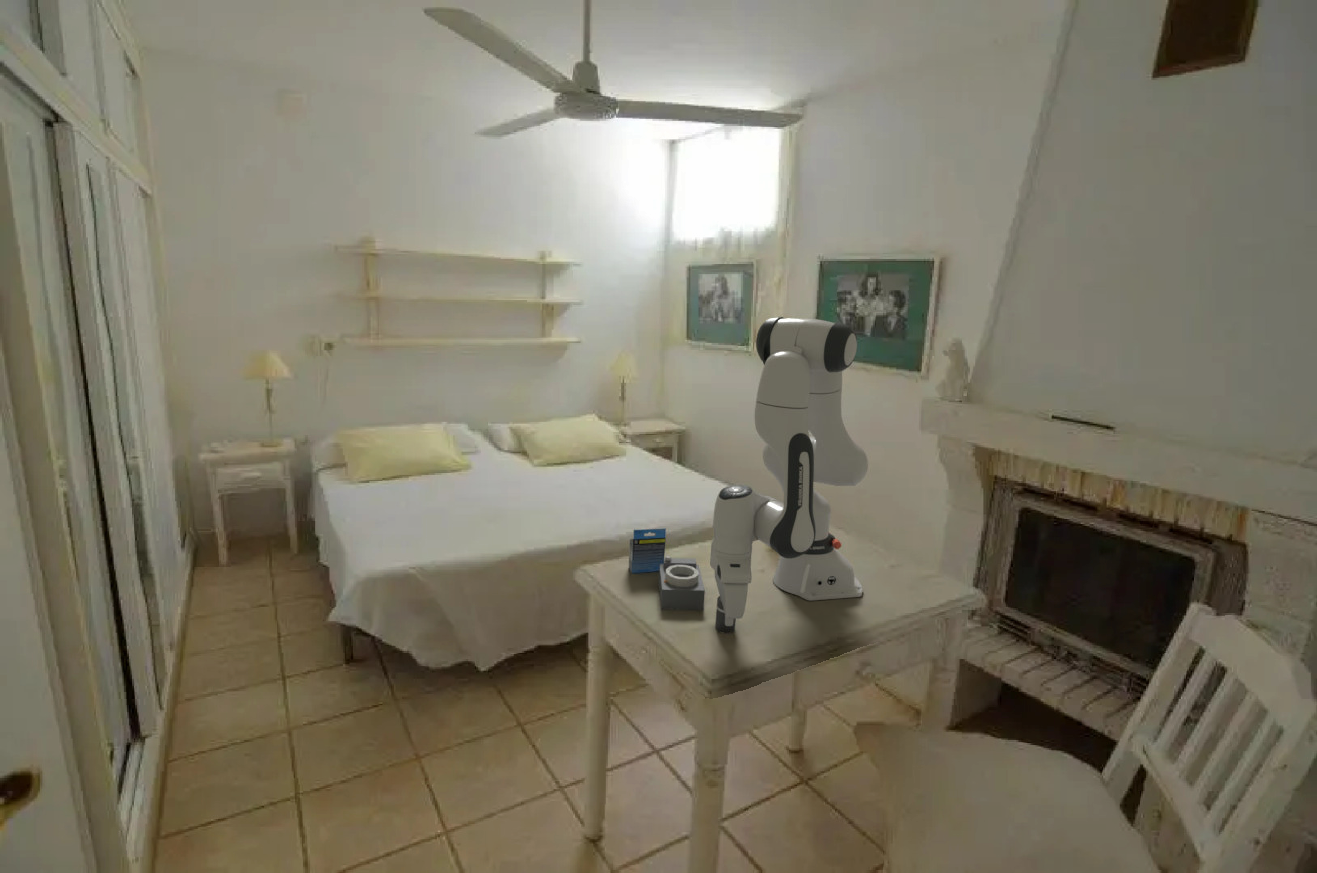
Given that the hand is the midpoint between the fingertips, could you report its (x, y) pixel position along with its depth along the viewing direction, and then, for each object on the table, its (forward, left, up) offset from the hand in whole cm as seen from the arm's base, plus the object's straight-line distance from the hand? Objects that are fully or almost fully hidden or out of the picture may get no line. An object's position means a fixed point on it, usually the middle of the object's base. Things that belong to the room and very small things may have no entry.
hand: (726, 616), depth 148 cm
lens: (0, 0, -3) cm, 3 cm away
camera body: (+9, -15, -3) cm, 18 cm away
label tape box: (+17, -29, -3) cm, 34 cm away
